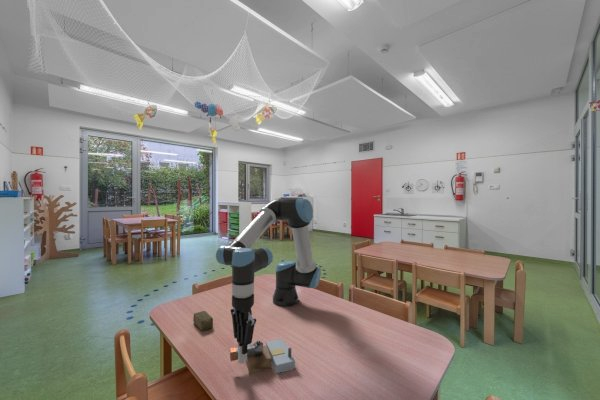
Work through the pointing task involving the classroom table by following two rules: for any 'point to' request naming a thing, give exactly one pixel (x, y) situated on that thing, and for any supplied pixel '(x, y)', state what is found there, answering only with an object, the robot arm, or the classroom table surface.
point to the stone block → (203, 320)
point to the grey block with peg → (280, 355)
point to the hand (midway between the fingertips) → (242, 361)
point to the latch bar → (248, 350)
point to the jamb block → (259, 362)
